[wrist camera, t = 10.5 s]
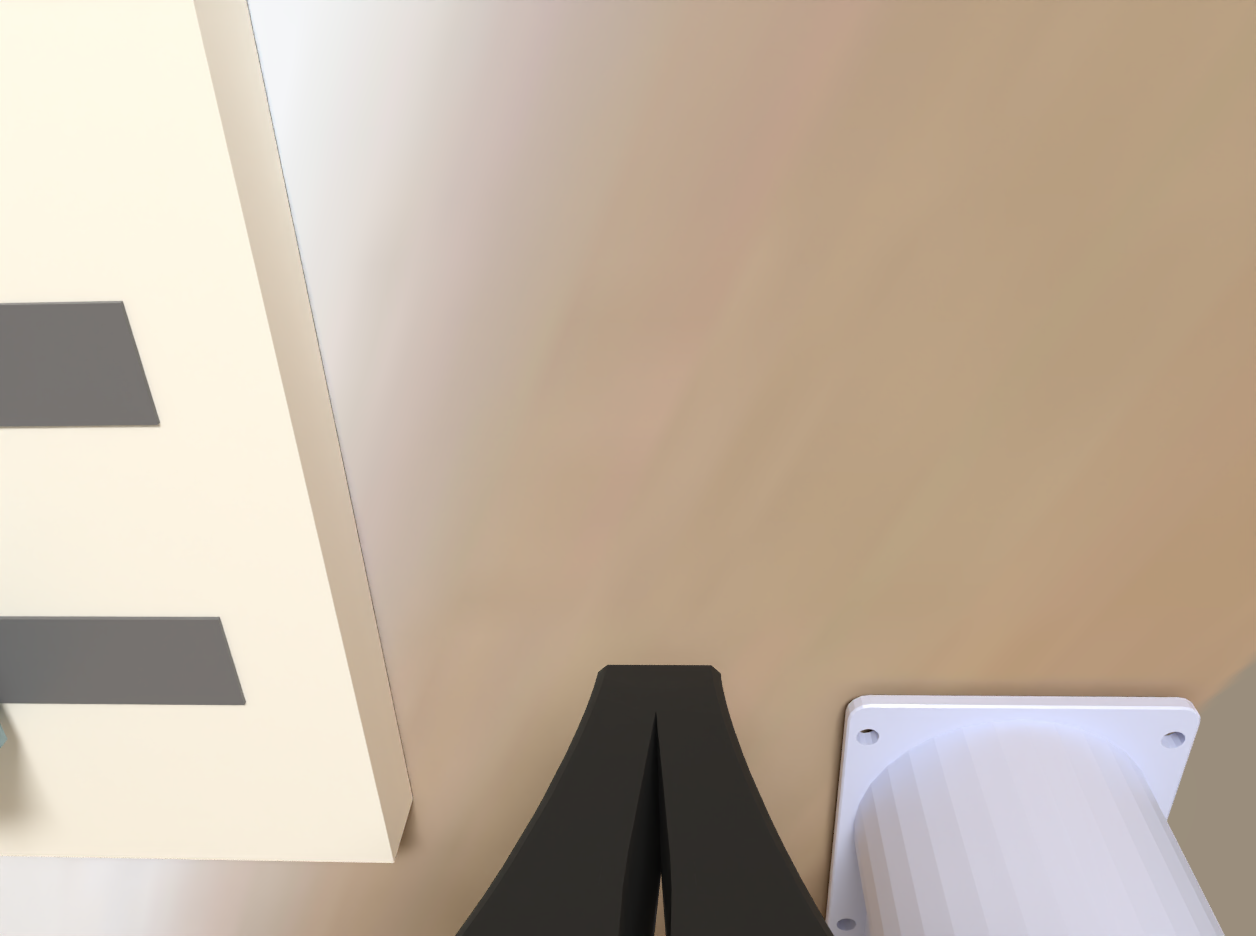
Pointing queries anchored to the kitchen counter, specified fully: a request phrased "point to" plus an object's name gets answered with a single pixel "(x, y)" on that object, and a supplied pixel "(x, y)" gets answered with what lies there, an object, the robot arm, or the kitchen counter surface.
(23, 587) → the switch panel
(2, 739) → the tab
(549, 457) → the kitchen counter surface
